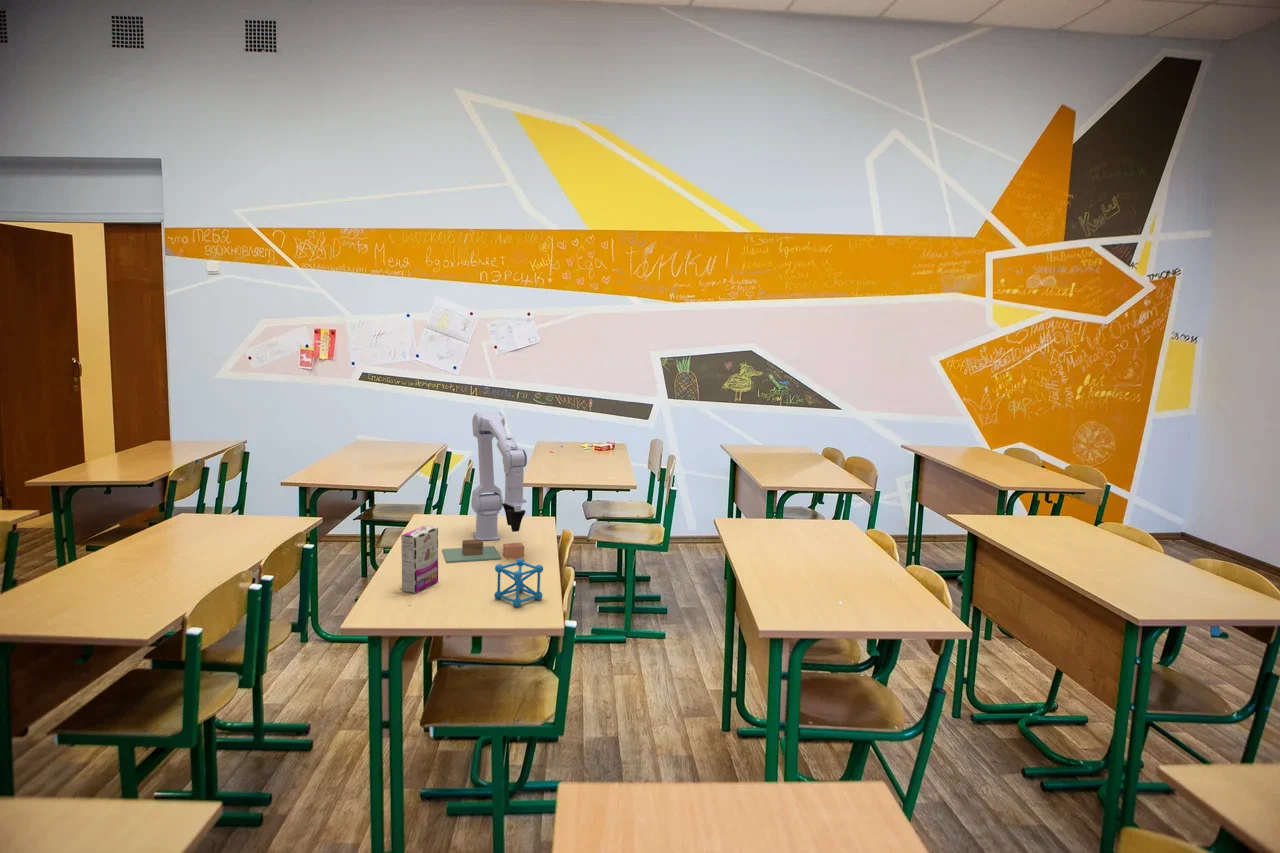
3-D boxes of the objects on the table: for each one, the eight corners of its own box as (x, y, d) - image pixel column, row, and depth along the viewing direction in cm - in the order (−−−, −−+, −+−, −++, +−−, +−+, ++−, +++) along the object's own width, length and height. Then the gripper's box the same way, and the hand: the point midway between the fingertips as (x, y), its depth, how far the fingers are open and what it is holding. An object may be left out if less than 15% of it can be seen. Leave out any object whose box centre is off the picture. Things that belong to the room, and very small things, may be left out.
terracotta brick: (503, 555, 248) (503, 543, 248) (521, 554, 251) (521, 542, 250) (505, 559, 245) (506, 547, 244) (524, 558, 247) (524, 546, 247)
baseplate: (442, 550, 250) (442, 549, 250) (494, 547, 256) (494, 545, 256) (446, 563, 238) (446, 561, 238) (501, 559, 244) (501, 557, 244)
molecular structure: (519, 590, 217) (520, 556, 216) (544, 599, 211) (545, 564, 210) (492, 599, 210) (493, 564, 208) (516, 609, 204) (517, 572, 202)
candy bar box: (424, 579, 223) (424, 524, 220) (438, 581, 221) (439, 527, 219) (400, 591, 212) (400, 534, 210) (415, 594, 211) (416, 536, 208)
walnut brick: (462, 551, 248) (462, 540, 247) (480, 550, 250) (481, 539, 249) (463, 555, 244) (464, 543, 244) (482, 554, 246) (483, 542, 246)
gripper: (531, 491, 239) (530, 533, 241) (522, 481, 253) (521, 521, 255) (508, 492, 237) (507, 534, 239) (500, 482, 250) (499, 522, 252)
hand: (513, 528), depth 246 cm, fingers open, 7 cm apart
